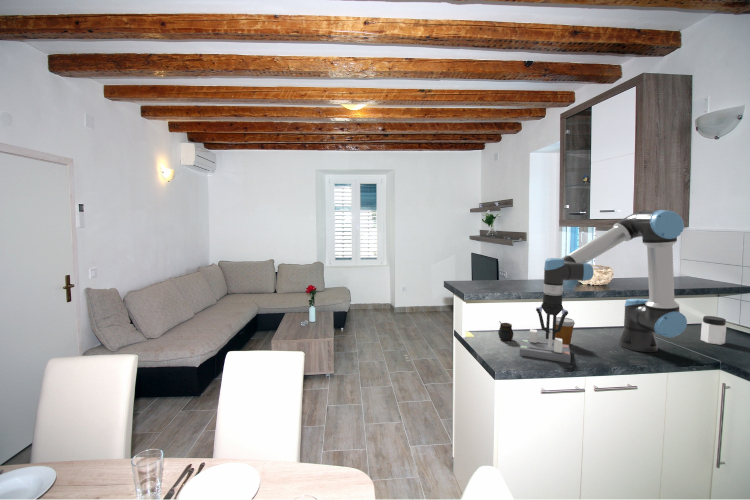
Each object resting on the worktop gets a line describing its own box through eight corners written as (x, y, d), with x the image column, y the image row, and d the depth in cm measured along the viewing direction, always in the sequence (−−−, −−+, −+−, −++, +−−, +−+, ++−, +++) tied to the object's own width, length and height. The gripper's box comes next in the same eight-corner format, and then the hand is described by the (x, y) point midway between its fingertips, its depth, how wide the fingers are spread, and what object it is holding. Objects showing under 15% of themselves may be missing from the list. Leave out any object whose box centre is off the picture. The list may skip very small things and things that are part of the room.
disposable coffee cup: (576, 347, 172) (577, 322, 171) (555, 346, 174) (556, 321, 173) (570, 340, 182) (571, 317, 180) (549, 339, 183) (550, 316, 182)
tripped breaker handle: (561, 349, 160) (562, 338, 159) (562, 352, 156) (562, 341, 156) (554, 348, 161) (554, 337, 160) (554, 351, 157) (554, 340, 157)
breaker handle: (536, 340, 172) (537, 329, 172) (536, 342, 169) (536, 332, 168) (529, 339, 173) (530, 329, 173) (529, 341, 170) (529, 331, 169)
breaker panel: (568, 351, 168) (568, 344, 167) (570, 362, 154) (570, 355, 154) (521, 344, 176) (522, 338, 176) (519, 355, 163) (519, 348, 162)
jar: (706, 337, 185) (708, 314, 184) (727, 342, 178) (729, 319, 177) (697, 340, 181) (699, 317, 180) (718, 345, 174) (720, 321, 173)
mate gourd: (516, 340, 182) (517, 321, 181) (505, 343, 179) (505, 323, 178) (506, 336, 188) (506, 317, 187) (494, 338, 185) (495, 319, 184)
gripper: (536, 293, 157) (533, 346, 159) (569, 297, 151) (566, 351, 154) (536, 290, 164) (534, 341, 166) (569, 293, 158) (566, 346, 160)
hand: (549, 346), depth 160 cm, fingers closed
